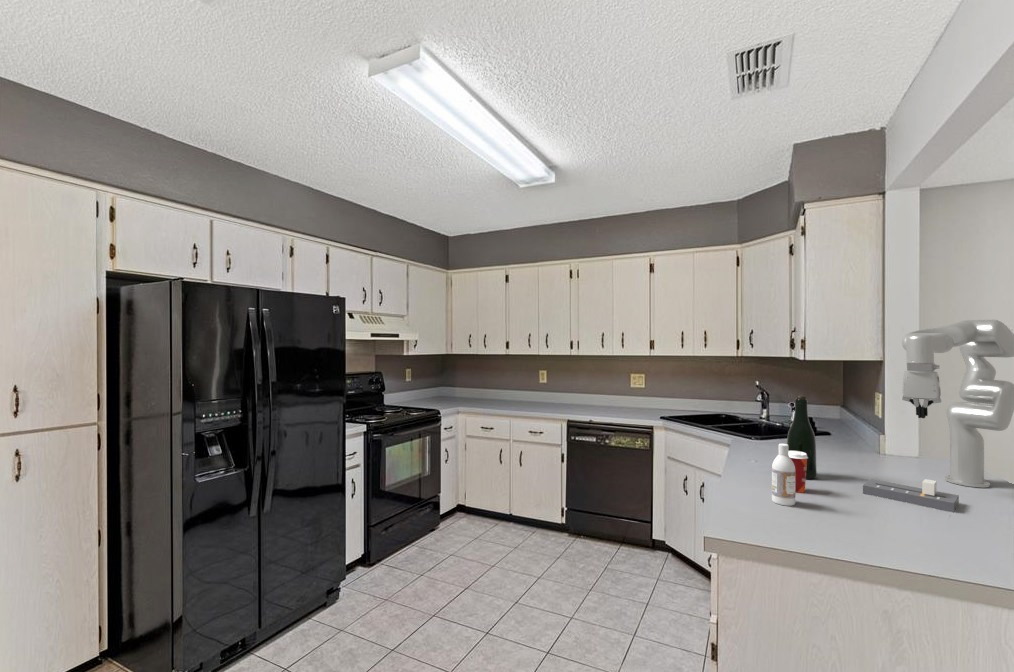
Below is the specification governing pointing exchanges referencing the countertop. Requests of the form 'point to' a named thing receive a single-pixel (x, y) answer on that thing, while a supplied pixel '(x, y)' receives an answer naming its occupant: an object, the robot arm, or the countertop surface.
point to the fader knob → (929, 487)
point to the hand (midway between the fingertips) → (921, 417)
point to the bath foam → (783, 478)
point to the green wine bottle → (803, 436)
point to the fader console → (911, 495)
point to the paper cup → (799, 469)
